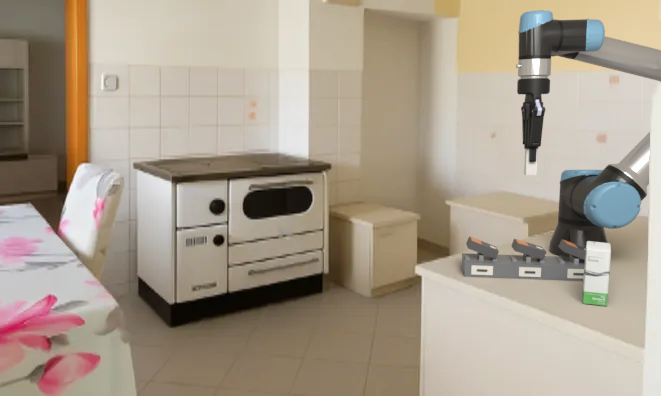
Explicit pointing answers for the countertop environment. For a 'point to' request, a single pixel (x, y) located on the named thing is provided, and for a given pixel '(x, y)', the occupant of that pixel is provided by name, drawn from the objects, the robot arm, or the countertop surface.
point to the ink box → (596, 273)
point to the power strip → (523, 267)
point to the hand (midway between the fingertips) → (530, 174)
